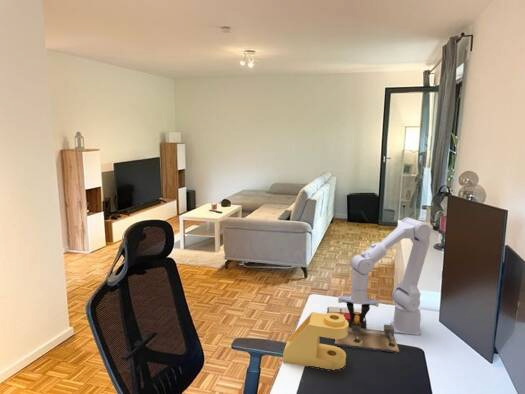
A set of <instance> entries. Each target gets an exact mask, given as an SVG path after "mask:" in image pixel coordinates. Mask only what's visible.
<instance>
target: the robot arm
mask: <svg viewBox="0 0 525 394" xmlns="http://www.w3.org/2000/svg"><path fill="white" fill-rule="evenodd" d="M431 233H432V228H431V227H430V225H429V224H428V223H427V222H424V221H420V220H417V219H414V218H412V217H405V218H403V219H402V220H401V221H399V222H398V223H397V227H395V229H393V230H392V231H391V232H390V233H389V234H388V235H387V236H386V237H385V238H384V239H382V240H381V242H375V243H371V244H370V246H369V247H367V248H366V249H365V250H363V252H361V253H360V254H356V255H354V256H353V257H352V258H351V261H349V265H350V267H351V270H352V271H351V272H352V273H351V274H352V275H351V276H352V277H351V286H350V287H351V288H350V289H351V291H350V295H338V298H337V302H338V303H339V304H341V303H346V308H348V310H349V313H350V321H351V323H353V311H354V309H355V307H354V305H360V306H361V308H360V309H361V322H360V323H361V324H363V320H364V318H365V317H366V315H367V314H368V313H369V311H370V308H371V306H375V307H377V308H378V307H379V304H380V303H379V302H380V301H379V299H375V298H369V297H367V294H368V284H369V274H370V273H371V272H372V271H373V268H374V266H376V265H375V264H376V263H378V262H379V261H380V260H381V259H383V258H384V257H385V256H386V255H387V251H388V250H389V249H390V248H391V247H393V246H395V245H397V243H399V242H400V241H402V240H404V239H407V240H408V239H409V240H410V241H411V243H412V246H411V247H412V248H411V250H410V255H409V258H408V261H407V264H406V267H405V270H404V271H405V272H404V275H403V277H402V278H403V279H402V281H400V282H398V283H397V284H396V287H395V288H394V290H393V291H392V294H391V299H392V301H394V302H393V303H394V314H393V321H390V325H393V328H394V334H395V333H396V334H405V335H412V336H413V335H414V336H420V328H421V319H422V316H421V309H419V308H420V305H421V299H420V298H421V295H422V294H421V292H420V290H419V288H418V285H419V281H420V278H421V273H422V271H423V267H424V263H425V259H426V257H427V253H428V250H429V247H430V244H431V243H430V237H431Z"/></svg>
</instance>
